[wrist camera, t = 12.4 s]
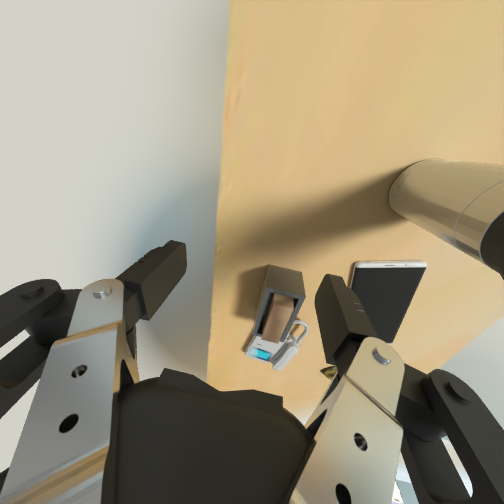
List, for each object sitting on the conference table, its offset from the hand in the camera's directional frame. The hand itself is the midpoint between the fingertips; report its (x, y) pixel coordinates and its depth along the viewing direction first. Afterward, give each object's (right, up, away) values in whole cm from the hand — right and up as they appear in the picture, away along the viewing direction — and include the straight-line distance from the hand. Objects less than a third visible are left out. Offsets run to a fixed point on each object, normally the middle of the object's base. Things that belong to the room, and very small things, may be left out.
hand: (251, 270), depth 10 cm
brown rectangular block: (+6, -12, +32) cm, 35 cm away
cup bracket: (+6, -9, +36) cm, 38 cm away
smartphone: (+31, -12, +35) cm, 48 cm away
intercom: (+8, -25, +46) cm, 53 cm away
